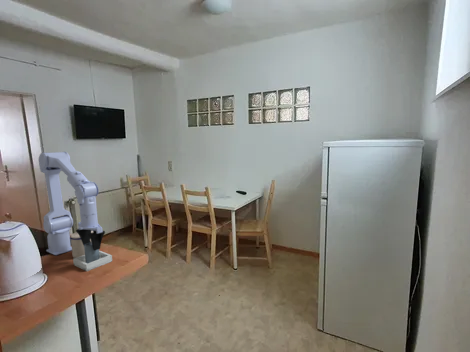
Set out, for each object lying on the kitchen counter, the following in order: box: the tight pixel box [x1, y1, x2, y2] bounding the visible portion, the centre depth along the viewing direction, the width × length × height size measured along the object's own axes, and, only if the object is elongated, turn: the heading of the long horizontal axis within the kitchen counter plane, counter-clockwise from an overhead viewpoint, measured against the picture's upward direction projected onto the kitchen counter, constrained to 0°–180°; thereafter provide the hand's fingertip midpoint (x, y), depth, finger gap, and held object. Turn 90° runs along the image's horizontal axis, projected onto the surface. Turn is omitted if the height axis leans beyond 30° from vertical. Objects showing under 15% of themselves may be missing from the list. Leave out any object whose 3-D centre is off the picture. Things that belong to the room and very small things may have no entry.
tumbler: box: [84, 242, 100, 264], centre depth 104 cm, size 5×5×7 cm
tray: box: [72, 250, 113, 272], centre depth 104 cm, size 10×10×2 cm
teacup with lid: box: [70, 230, 93, 259], centre depth 114 cm, size 12×9×12 cm
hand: (91, 247), depth 104 cm, fingers open, 7 cm apart
